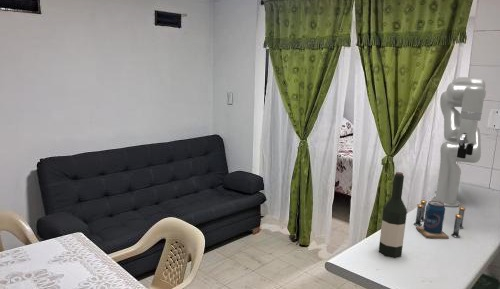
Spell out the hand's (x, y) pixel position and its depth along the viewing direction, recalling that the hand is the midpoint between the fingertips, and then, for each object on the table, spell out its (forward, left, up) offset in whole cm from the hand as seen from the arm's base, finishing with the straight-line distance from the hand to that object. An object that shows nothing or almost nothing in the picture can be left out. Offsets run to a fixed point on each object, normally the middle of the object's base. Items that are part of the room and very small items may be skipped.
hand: (464, 156), depth 162 cm
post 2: (-2, -14, -30) cm, 33 cm away
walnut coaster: (+12, -16, -30) cm, 36 cm away
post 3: (+14, -7, -30) cm, 34 cm away
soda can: (+12, -16, -29) cm, 35 cm away
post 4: (+5, 0, -30) cm, 31 cm away
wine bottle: (+29, -40, -31) cm, 58 cm away
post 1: (+3, -18, -30) cm, 35 cm away
